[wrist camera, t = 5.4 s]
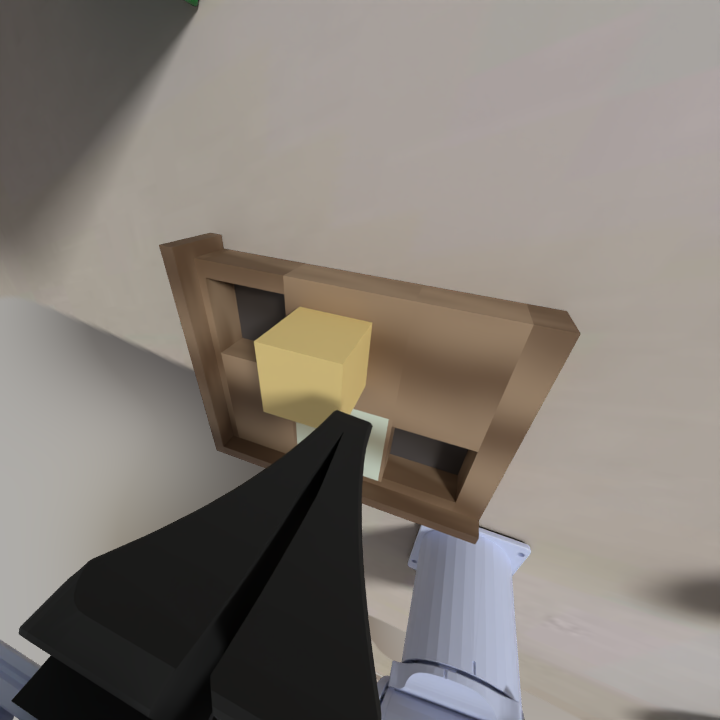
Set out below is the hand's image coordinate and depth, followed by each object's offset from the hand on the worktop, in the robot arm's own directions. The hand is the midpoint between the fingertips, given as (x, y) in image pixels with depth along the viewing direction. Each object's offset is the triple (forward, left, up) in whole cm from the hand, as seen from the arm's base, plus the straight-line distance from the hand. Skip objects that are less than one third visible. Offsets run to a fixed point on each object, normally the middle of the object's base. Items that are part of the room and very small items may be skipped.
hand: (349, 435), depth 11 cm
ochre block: (-1, +3, -6) cm, 7 cm away
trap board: (-4, +2, -9) cm, 10 cm away
